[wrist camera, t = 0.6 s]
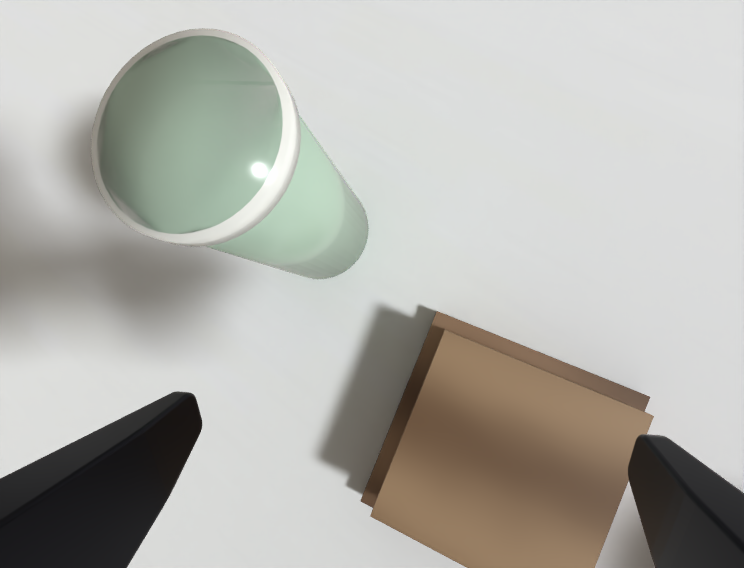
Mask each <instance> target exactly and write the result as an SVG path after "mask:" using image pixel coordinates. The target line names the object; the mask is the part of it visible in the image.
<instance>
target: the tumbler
mask: <svg viewBox="0 0 744 568" xmlns="http://www.w3.org/2000/svg"><path fill="white" fill-rule="evenodd" d="M91 159H92V168H93V172H94V176H95V180H96V183H97V185H98V188H99V191H100V193H101V195H102V196H103V198H104V200H105V202H106V203H107V205H108V206H109V207H110V209H111V210H112V211H113V213H114V214H115V215H116V216H117V217H118V218H119V219H120V220H121V221H122V222H124V223H125V224H126V225H128V226H129V227H130V228H132V229H133V230H135V231H137V232H139V233H141V234H143V235H146V236H149V237H152V238H155V239H158V240H162V241H165V242H169V243H172V244H176V245H182V246H189V247H203V246H206V247H209V248H212V249H216V250H219V251H222V252H225V253H229V254H232V255H235V256H238V257H242V258H245V259H248V260H252V261H255V262H258V263H261V264H265V265H268V266H271V267H274V268H278V269H281V270H284V271H287V272H291V273H294V274H297V275H300V276H304V277H307V278H312V279H327V278H331V277H334V276H337V275H339V274H341V273H343V272H345V271H346V270H347V269H349V268H350V267H351V266H352V265H353V264H354V263H355V262H356V261H357V260H358V259H359V257H360V255H361V254H362V252H363V250H364V248H365V245H366V242H367V238H368V219H367V215H366V212H365V209H364V207H363V205H362V204H361V202H360V201H359V199H358V198H357V196H356V195H355V194H354V192H353V191H352V189H351V188H350V187H349V185H348V184H347V182H346V181H345V179H344V178H343V177H342V175H341V174H340V172H339V171H338V169H337V168H336V167H335V165H334V164H333V162H332V161H331V160H330V158H329V157H328V155H327V154H326V152H325V151H324V150H323V148H322V147H321V145H320V144H319V142H318V141H317V140H316V138H315V137H314V135H313V134H312V132H311V131H310V130H309V128H308V127H307V125H306V124H305V123H304V121H303V120H302V118H301V117H300V115H299V114H298V109H297V106H296V103H295V100H294V98H293V96H292V94H291V92H290V90H289V88H288V86H287V85H286V83H285V82H284V80H283V79H282V77H281V76H280V74H279V73H278V71H277V70H276V68H275V67H274V65H273V64H272V62H271V61H270V60H269V58H268V57H267V56H266V55H265V54H264V53H263V52H262V51H261V50H260V49H259V48H257V47H256V46H255V45H253V44H252V43H251V42H249V41H247V40H245V39H244V38H242V37H240V36H238V35H235V34H232V33H230V32H226V31H221V30H216V29H190V30H185V31H181V32H177V33H174V34H171V35H168V36H165V37H163V38H161V39H159V40H157V41H155V42H153V43H152V44H150V45H148V46H147V47H145V48H144V49H142V50H141V51H140V52H139V53H137V54H136V55H135V56H134V57H132V58H131V59H130V60H129V61H128V62H127V63H126V64H125V65H124V67H123V68H122V69H121V70H120V71H119V73H118V74H117V75H116V76H115V78H114V79H113V81H112V82H111V84H110V85H109V87H108V89H107V90H106V92H105V94H104V96H103V98H102V100H101V103H100V105H99V108H98V111H97V114H96V117H95V121H94V125H93V131H92V139H91Z"/></svg>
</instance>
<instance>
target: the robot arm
mask: <svg viewBox="0 0 744 568" xmlns="http://www.w3.org/2000/svg"><path fill="white" fill-rule="evenodd" d="M201 429H202V418H201V415H200V411H199V408H198V404H197V400H196V397H195V396H194V395H193V394H192V393H189V392H173V393H171V394H169V395H167V396H165V397H163V398H161V399H159V400H157V401H155V402H153V403H151V404H149V405H147V406H145V407H143V408H141V409H139V410H137V411H135V412H133V413H131V414H129V415H127V416H125V417H123V418H121V419H119V420H117V421H115V422H113V423H111V424H109V425H107V426H105V427H103V428H101V429H99V430H97V431H95V432H93V433H91V434H89V435H87V436H85V437H83V438H81V439H79V440H77V441H75V442H73V443H71V444H69V445H67V446H65V447H63V448H61V449H59V450H57V451H55V452H53V453H51V454H49V455H47V456H45V457H43V458H41V459H39V460H37V461H35V462H33V463H31V464H29V465H27V466H25V467H23V468H21V469H19V470H17V471H15V472H13V473H11V474H9V475H7V476H5V477H3V478H1V479H0V568H127V566H128V565H129V563H130V561H131V560H132V558H133V556H134V555H135V553H136V551H137V550H138V548H139V546H140V545H141V543H142V541H143V540H144V538H145V537H146V535H147V533H148V532H149V530H150V528H151V527H152V525H153V523H154V522H155V520H156V518H157V517H158V515H159V513H160V512H161V510H162V508H163V506H164V505H165V503H166V501H167V499H168V498H169V496H170V494H171V492H172V490H173V488H174V486H175V484H176V482H177V480H178V478H179V476H180V474H181V472H182V470H183V467H184V465H185V463H186V461H187V459H188V457H189V455H190V453H191V451H192V449H193V447H194V445H195V443H196V441H197V439H198V437H199V434H200V432H201ZM628 478H629V482H630V485H631V489H632V492H633V495H634V499H635V502H636V505H637V509H638V512H639V515H640V519H641V522H642V525H643V529H644V532H645V535H646V539H647V542H648V546H649V549H650V552H651V555H652V559H653V562H654V565H655V568H744V493H743V492H741V491H740V490H739V489H737V488H736V487H735V486H733V485H732V484H730V483H729V482H728V481H726V480H725V479H724V478H722V477H721V476H720V475H718V474H717V473H715V472H714V471H713V470H711V469H710V468H709V467H707V466H706V465H704V464H703V463H702V462H700V461H699V460H698V459H696V458H695V457H693V456H692V455H691V454H689V453H688V452H687V451H685V450H684V449H683V448H681V447H680V446H678V445H677V444H676V443H674V442H673V441H672V440H670V439H669V438H667V437H665V436H660V435H649V434H641V435H639V436H638V437H637V439H636V441H635V444H634V448H633V451H632V454H631V458H630V461H629V465H628Z"/></svg>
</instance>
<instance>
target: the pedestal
mask: <svg viewBox="0 0 744 568" xmlns="http://www.w3.org/2000/svg"><path fill="white" fill-rule="evenodd" d="M649 399H650V397H649V396H647V395H644V394H642V393H639V392H637V391H634V390H632V389H629V388H627V387H624V386H622V385H619V384H617V383H614V382H612V381H609V380H607V379H604V378H602V377H599V376H597V375H594V374H592V373H589V372H587V371H585V370H582V369H580V368H577V367H575V366H572V365H570V364H567V363H565V362H562V361H560V360H557V359H555V358H552V357H550V356H547V355H545V354H542V353H540V352H537V351H535V350H532V349H530V348H527V347H525V346H522V345H520V344H517V343H515V342H512V341H510V340H508V339H505V338H503V337H500V336H498V335H495V334H493V333H490V332H488V331H485V330H483V329H480V328H478V327H475V326H473V325H470V324H468V323H465V322H463V321H460V320H458V319H455V318H453V317H450V316H448V315H445V314H443V313H440V312H438V311H437V312H436V315H435V317H434V319H433V322H432V324H431V327H430V329H429V332H428V334H427V337H426V339H425V342H424V344H423V347H422V349H421V352H420V354H419V357H418V359H417V362H416V364H415V367H414V369H413V372H412V374H411V377H410V379H409V382H408V384H407V387H406V389H405V392H404V394H403V397H402V399H401V401H400V404H399V406H398V409H397V411H396V414H395V416H394V419H393V421H392V424H391V426H390V429H389V431H388V434H387V436H386V439H385V441H384V444H383V446H382V449H381V451H380V454H379V456H378V459H377V461H376V464H375V466H374V469H373V471H372V474H371V476H370V478H369V481H368V483H367V486H366V488H365V491H364V493H363V496H362V498H361V502H363V503H365V504H367V505H369V506H370V507H372V508H373V510H372V513H371V517H373V518H374V519H376V520H378V521H380V522H382V523H384V524H386V525H388V526H390V527H391V528H393V529H395V530H397V531H399V532H401V533H403V534H405V535H407V536H408V537H410V538H412V539H414V540H416V541H418V542H420V543H422V544H424V545H425V546H427V547H429V548H431V549H433V550H435V551H437V552H439V553H440V554H442V555H444V556H446V557H448V558H450V559H452V560H454V561H456V562H457V563H459V564H461V565H463V566H465V567H467V568H595V565H596V563H597V560H598V557H599V555H600V552H601V550H602V547H603V545H604V542H605V540H606V537H607V534H608V532H609V529H610V527H611V524H612V522H613V519H614V517H615V514H616V511H617V509H618V506H619V504H620V501H621V499H622V496H623V494H624V491H625V488H626V486H627V483H628V481H629V478H628V465H629V461H630V458H631V454H632V451H633V448H634V444H635V441H636V439H637V437H638V436H639V435H641V434H647V432H648V430H649V427H650V425H651V422H652V420H653V417H654V416H652V415H650V414H648V413H646V412H644V411H645V409H646V406H647V404H648V401H649Z"/></svg>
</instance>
